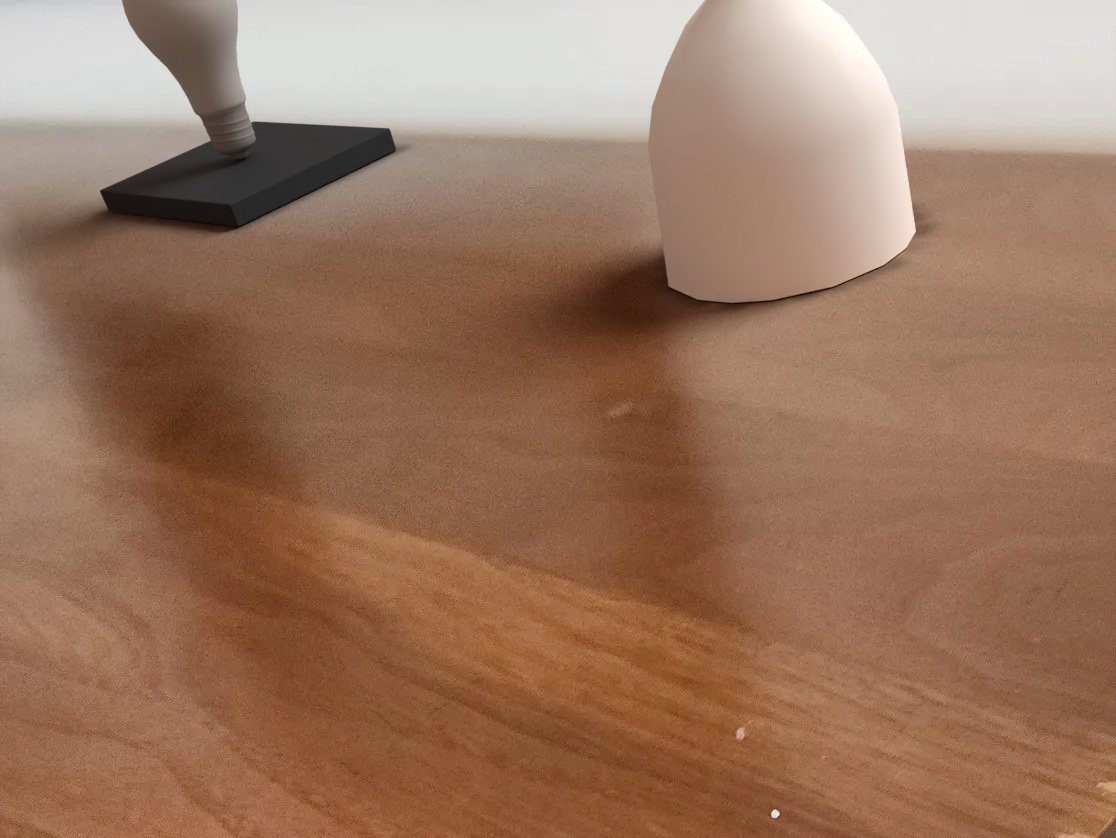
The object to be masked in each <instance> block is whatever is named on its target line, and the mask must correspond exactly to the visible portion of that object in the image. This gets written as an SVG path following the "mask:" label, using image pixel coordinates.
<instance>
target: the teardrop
mask: <svg viewBox="0 0 1116 838" xmlns="http://www.w3.org/2000/svg"><path fill="white" fill-rule="evenodd" d="M650 112H651V113H650V122H649V131H648V142H647V148H648V155H649V162H650V169H651V175H652V176H651V177H652V182H653V189H654V195H655V202H656V208H657V216H658V222H659V223H658V224H659V229H660V236H661V242H662V243H661V244H662V250H663V257H664V262H665V263H664V264H665V271H666V278H667V286H668V287H669V288H671V289H673V290H675V291H678V292H679V293H682V294H684V295H687V296H689V297H691V298H693V299H695V300H697V301H698V300H699V301H705V302H706V301H707V302H720V303H730V304H734V303H748V302H763V301H764V302H765V301H774V300H778V299H782V298H784V299H785V298H788V297H792V296H798V295H800V294H805V293H806V294H807V293H811V292H815V291H821V290H824V289H828V288H833V287H835V286H838V285H840V284H842V283H845V282H847V281H850V280H852V279H854V278H857V277H859V276H861V275H863V274H866V273H868V272H870V271H873V270H875V269H877V268H880V267H883V266H884V265H886V264H887V263H888V262H890V261H892V260H893V259H894V258H895V257H897V256H898V255H899V254H901V253H902V252H903V251H904V250H907V248H908V246H909V244H910V243H911V241H912V239H913V238H914V236H915V234H916V232H917V231H916V224H915V223H916V222H915V216H914V210H913V203H912V197H911V196H912V195H911V189H910V182H909V177H908V176H909V175H908V169H907V163H906V155H905V149H904V143H903V142H904V141H903V136H902V128H901V122H900V115H899V108H898V104H897V102H896V99H895V97H894V95H893V92H892V90H891V88H890V85H889V83H888V80H887V78H886V76H885V74H884V71H883V69H882V67H881V66H880V64H879V63H878V62H877V60H876V59H875V57H874V56H873V55H872V53H871V52H870V51H869V49H868V48H867V47H866V45H865V43H864V42H863V41H862V39H861V38H860V36H859V35H858V34H857V31H855V30H854V28H853V27H852V26H851V25H850V24H849V22H848V21H847V20H846V18H845V17H844V16H842V15H841V13H839V12H837V11H836V10H835V9H833V7H831V6H830V5H829V4H827V3H826V2H825V1H823V0H704V1H703V2H702V3H701V4H700V6H699V7H698V8H697V10H696V11H695V12H694V13H693V15H692V16H691V17H690V19H689V20H688V21H687V22H686V23H685V25H684V27H683V29H682V31H681V33H680V36H679V38H678V40H677V42H676V44H675V46H674V49H673V51H672V53H671V55H670V57H669V60H668V61H667V63H666V65H665V68H664V70H663V74H662V76H661V79H660V82H659V86H658V88H657V91H656V94H655V97H654V100H653V103H652V105H651V111H650Z"/></svg>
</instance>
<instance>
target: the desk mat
mask: <svg viewBox="0 0 1116 838" xmlns="http://www.w3.org/2000/svg"><path fill="white" fill-rule="evenodd" d="M250 122H251V124H252V128H253V130H254V133H255V137H256V140H255V143H254V144H253V146H251V147H250V148H249V154H248V156H246V157H244V158H243V159H237V160H234V159H232V158H231V157H230V156H228V155H224V154H220V153H218V152H217V151H216V150H215V148H214V146H213V144H212V142H211V140H209V141H207V142H205V143H202V144H199V145H197V146H195V147H194V148H191V149H189V150H187V151H184V152H182V153H180V154H178V155H175V156H172V157H171V158H168V159H167V160H164V161H162V162H160V163H158V164H156V165H153V166H151V167H149V168H146V169H144V170H142V171H140V172H138V173H135V174H133V175H131V176H128V177H127V178H124V179H122V180H119V181H117V182H115V183H113V184H111V185H108V186H107V187H106V186H105V187H104V188H102V189H100V190H99V193H100V195H101V197H102V199H103V203H104V204H105V206H106V208H107V210H108V212H111V213H112V212H113V213H120V214H130V215H137V216H146V217H155V218H162V219H163V218H164V219H171V220H179V221H185V222H186V221H187V222H195V223H204V224H210V225H221V226H228V227H235V228H239V227H242V226H243V225H246V224H248V223H250V222H253V221H254V220H256V219H258V218H260V217H262V216H264V215H267V214H269V213H270V212H273V211H274V210H276V209H279V208H282V207H283V206H285V205H287V204H289V203H291V202H294V201H295V200H297V199H299V198H301V197H303V196H306V195H307V194H310V193H312V192H313V191H316V190H317V189H319V188H322V187H324V186H326V185H328V184H330V183H332V182H334V181H336V180H338V179H340V178H342V177H345V176H346V175H348V174H350V173H352V172H354V171H357V170H359V169H361V168H363V167H365V166H367V165H369V164H371V163H373V162H375V161H377V160H379V159H381V158H383V157H385V156H387V155H390V154H392V153H393V152H396V150H397V147H396V144H395V141H394V138H393V134H392V131H391V129H390V128H389V127H371V126H369V127H368V126H355V125H354V126H352V125H351V126H350V125H335V124H334V125H333V124H332V125H331V124H316V123H315V124H314V123H313V124H311V123H294V122H293V123H292V122H274V121H273V122H272V121H255V120H254V121H250Z"/></svg>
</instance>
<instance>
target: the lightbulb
mask: <svg viewBox="0 0 1116 838" xmlns="http://www.w3.org/2000/svg"><path fill="white" fill-rule="evenodd" d="M121 3H122V7H123V11H124V15H125V16H126V19H127V21H128V24H129V26H130V27H131V29H132V31H133V32H134V34H135V35H136V37H137V38H138V39H139V40H140V42H142V44H143V45H144V46H145V47H146V48H147V49H148V51H150V53H151V54H152V55H153V56H154V57H155V58H156V59H158V61H159V62H160V63H161V64H162V65H163V66H164V67H166V68H167V70H168V71H169V72H170V74H171V75H172V76H173V77H174V79H175V80H176V82H177V83H178V84H179V86H180V88H181V89H182V91H183V93H184V94H185V96H186V98H187V100H188V101H189V104H190V107H191V108H192V111H193V112H194V114H195V115H197V116H198V117H199V118H200V120H201V122H202V125H203V127H204V128H205V130H206V134H207V135H208V137H209V141H211V142H212V144H213V146H214V148H215V150H216V151H217V152H218V153H220V154H224V155H228V156H230V157H231V158H232V159H234V160H237V159H243V158H244V157H246V156H248V154H249V148H250V147H251V146H253V144H254V143H255V140H256V137H255V133H254V130H253V128H252V124H251V122H252V121H251V120H250V115H249V113H248V110H247V107H246V100H247V97H246V92H245V90H244V86H243V84H242V79H241V75H240V74H241V73H240V69H239V65H238V51H237V46H238V45H237V42H238V33H239V32H238V31H239V7H238V2H237V0H121Z"/></svg>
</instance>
